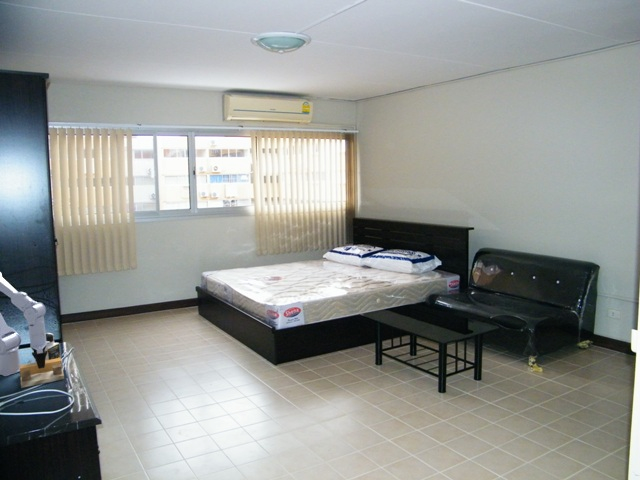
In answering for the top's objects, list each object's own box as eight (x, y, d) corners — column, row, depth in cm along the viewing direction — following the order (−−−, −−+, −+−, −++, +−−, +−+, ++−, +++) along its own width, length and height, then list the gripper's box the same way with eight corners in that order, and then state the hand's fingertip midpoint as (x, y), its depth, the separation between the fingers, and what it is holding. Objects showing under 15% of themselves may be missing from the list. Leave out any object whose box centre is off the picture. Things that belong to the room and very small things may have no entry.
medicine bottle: (49, 364, 224) (46, 337, 222) (35, 363, 225) (32, 336, 223) (60, 358, 231) (58, 332, 229) (46, 357, 232) (44, 331, 230)
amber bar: (21, 379, 209) (19, 368, 208) (20, 375, 212) (19, 365, 212) (62, 370, 216) (61, 360, 216) (61, 367, 220) (60, 357, 219)
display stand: (21, 387, 200) (19, 376, 199) (20, 380, 207) (19, 369, 206) (64, 378, 207) (63, 368, 207) (62, 372, 214) (61, 361, 214)
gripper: (49, 336, 208) (53, 368, 210) (47, 326, 220) (50, 357, 222) (29, 339, 204) (33, 372, 206) (28, 330, 217) (32, 361, 219)
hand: (41, 364), depth 214 cm, fingers open, 7 cm apart
